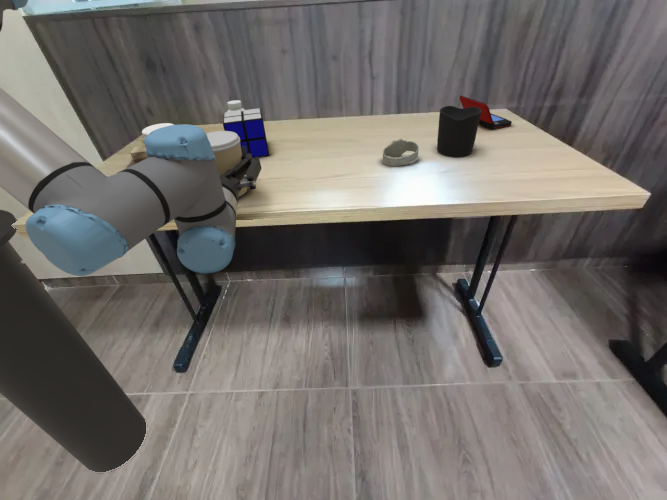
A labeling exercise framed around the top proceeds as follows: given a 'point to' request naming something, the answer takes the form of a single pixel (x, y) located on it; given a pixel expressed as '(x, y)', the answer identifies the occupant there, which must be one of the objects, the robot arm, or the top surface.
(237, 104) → the pill bottle
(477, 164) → the top surface
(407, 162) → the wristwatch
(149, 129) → the coaster
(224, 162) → the coffee cup
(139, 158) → the letter board
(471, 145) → the pen holder
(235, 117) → the puzzle cube
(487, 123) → the handheld console
